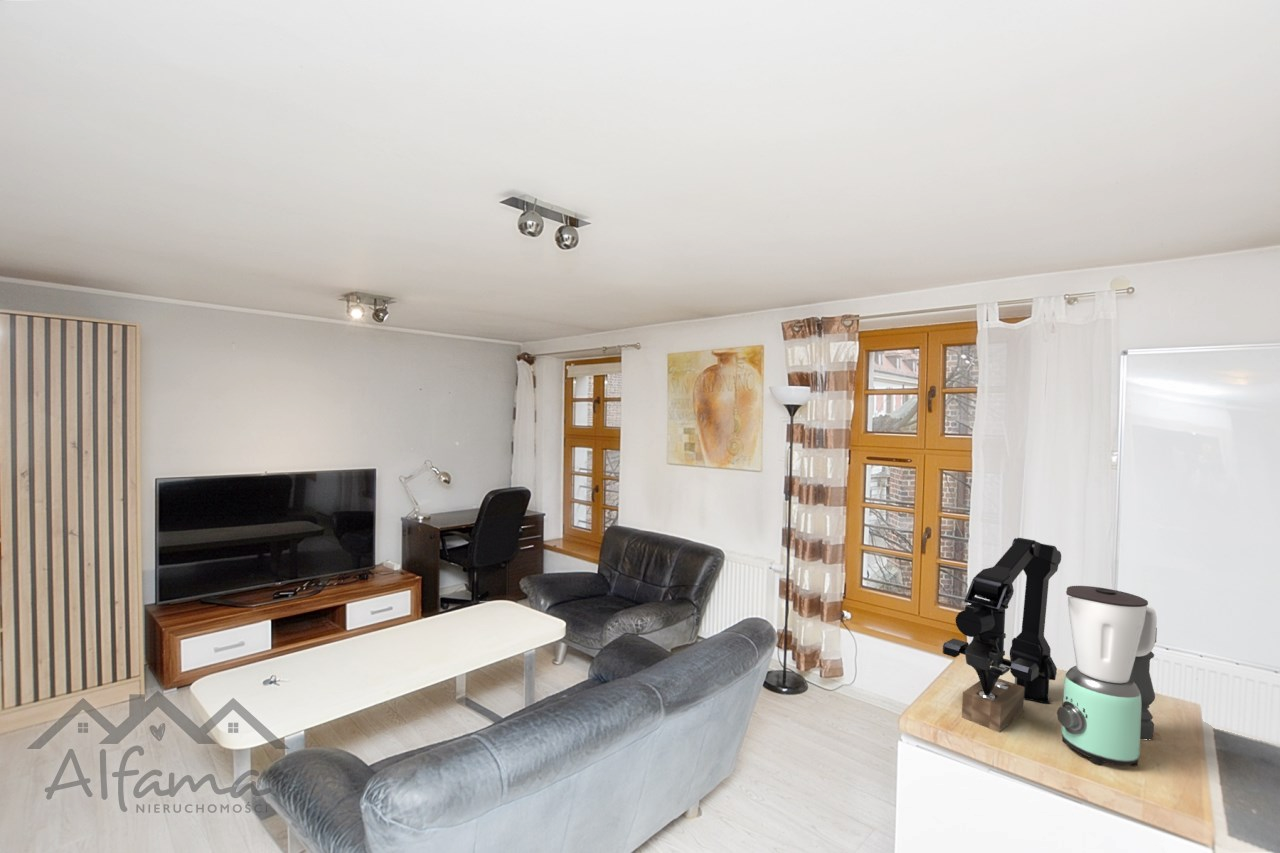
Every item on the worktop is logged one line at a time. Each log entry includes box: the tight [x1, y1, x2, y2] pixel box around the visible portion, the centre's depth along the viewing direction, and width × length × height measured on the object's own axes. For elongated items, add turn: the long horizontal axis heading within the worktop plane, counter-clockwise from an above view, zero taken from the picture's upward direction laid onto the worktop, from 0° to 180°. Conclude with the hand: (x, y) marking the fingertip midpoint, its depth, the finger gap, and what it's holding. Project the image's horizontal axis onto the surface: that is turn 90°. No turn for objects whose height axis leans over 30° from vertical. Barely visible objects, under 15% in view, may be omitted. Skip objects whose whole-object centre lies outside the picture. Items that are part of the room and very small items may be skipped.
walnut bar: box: [961, 677, 1025, 733], centre depth 137 cm, size 8×16×6 cm, turn 130°
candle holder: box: [1130, 627, 1158, 741], centre depth 131 cm, size 6×6×25 cm
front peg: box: [979, 691, 995, 700], centre depth 134 cm, size 3×3×6 cm
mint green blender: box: [1056, 585, 1158, 767], centre depth 122 cm, size 19×13×35 cm
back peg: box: [995, 681, 1009, 689], centre depth 140 cm, size 3×3×6 cm
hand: (987, 694), depth 134 cm, fingers closed, pressing on front peg
